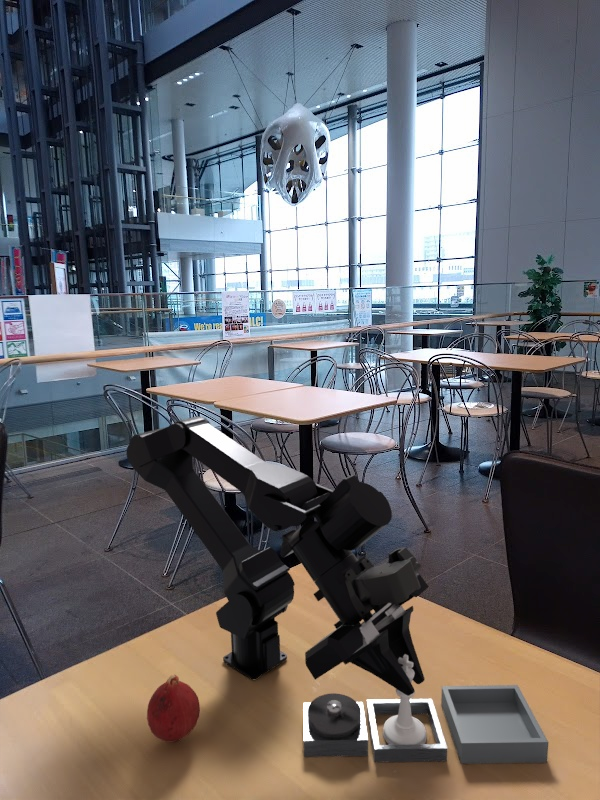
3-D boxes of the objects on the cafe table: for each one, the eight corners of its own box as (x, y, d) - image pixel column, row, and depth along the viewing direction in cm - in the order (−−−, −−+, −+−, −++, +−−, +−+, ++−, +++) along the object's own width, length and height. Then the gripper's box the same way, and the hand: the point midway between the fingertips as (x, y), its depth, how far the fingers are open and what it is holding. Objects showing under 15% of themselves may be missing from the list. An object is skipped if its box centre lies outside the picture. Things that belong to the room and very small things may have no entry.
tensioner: (303, 763, 64) (303, 730, 64) (303, 712, 72) (303, 682, 71) (447, 761, 64) (447, 728, 63) (431, 710, 72) (432, 680, 71)
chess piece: (414, 758, 65) (415, 675, 63) (374, 738, 68) (375, 659, 66) (433, 731, 68) (435, 652, 67) (395, 713, 71) (396, 637, 70)
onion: (176, 767, 64) (171, 701, 63) (138, 746, 67) (133, 683, 66) (211, 733, 69) (208, 670, 67) (174, 715, 72) (170, 655, 70)
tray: (460, 763, 64) (461, 743, 63) (441, 704, 73) (441, 686, 72) (547, 762, 64) (548, 741, 63) (516, 703, 73) (517, 685, 72)
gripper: (326, 565, 59) (426, 711, 54) (415, 509, 73) (500, 620, 69) (268, 613, 65) (353, 747, 60) (360, 552, 79) (435, 657, 75)
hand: (416, 688), depth 66 cm, fingers closed on chess piece
